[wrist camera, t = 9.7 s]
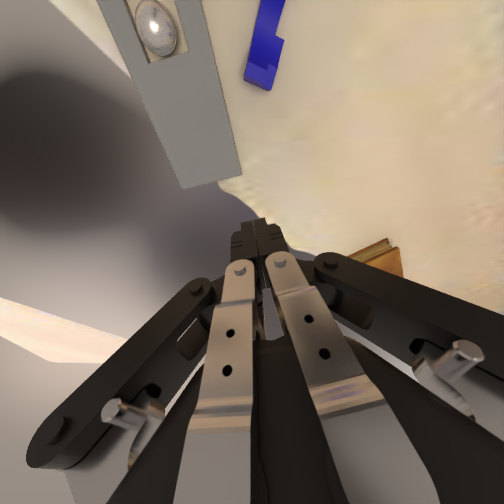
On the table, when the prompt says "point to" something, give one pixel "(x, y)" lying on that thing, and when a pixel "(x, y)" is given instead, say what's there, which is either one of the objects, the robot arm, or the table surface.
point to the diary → (381, 257)
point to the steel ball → (155, 27)
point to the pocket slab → (180, 95)
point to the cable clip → (265, 46)
